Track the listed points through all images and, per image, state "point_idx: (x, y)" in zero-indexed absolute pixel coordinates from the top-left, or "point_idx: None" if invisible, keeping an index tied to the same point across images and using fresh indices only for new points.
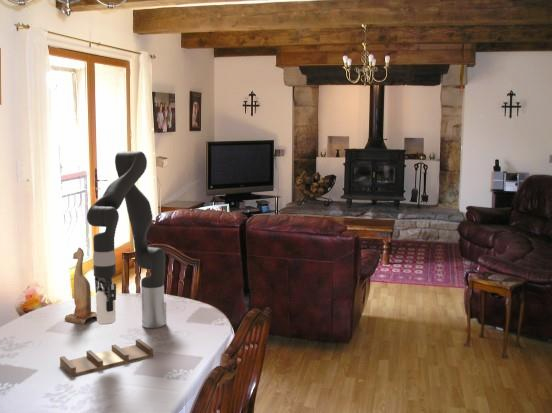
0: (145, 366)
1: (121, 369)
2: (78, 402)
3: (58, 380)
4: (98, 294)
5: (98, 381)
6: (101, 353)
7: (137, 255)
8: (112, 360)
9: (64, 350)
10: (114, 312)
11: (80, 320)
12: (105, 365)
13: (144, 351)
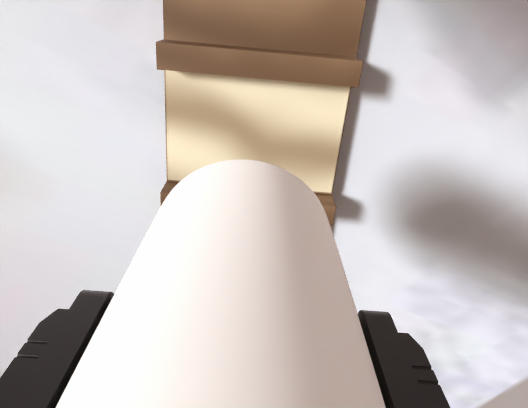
0: (466, 9)
1: (397, 129)
2: (508, 355)
3: None
4: None
5: (425, 253)
6: (182, 134)
7: None
8: (307, 134)
9: (9, 224)
10: (330, 244)
11: None
12: (332, 183)
13: None
